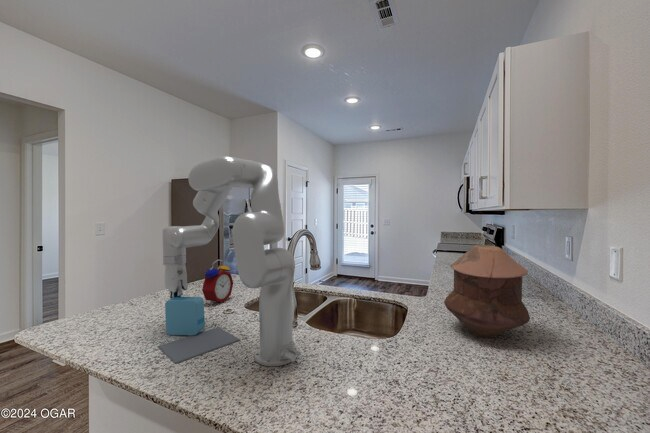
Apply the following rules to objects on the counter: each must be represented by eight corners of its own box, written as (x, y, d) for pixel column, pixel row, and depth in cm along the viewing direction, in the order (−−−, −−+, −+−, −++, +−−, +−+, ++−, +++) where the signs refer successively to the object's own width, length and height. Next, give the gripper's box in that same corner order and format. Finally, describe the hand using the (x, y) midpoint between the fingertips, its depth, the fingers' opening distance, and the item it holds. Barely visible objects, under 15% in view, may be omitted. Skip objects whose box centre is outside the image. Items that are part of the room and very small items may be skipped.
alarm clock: (213, 307, 129) (212, 262, 128) (197, 305, 131) (196, 261, 131) (234, 297, 143) (233, 257, 142) (219, 296, 145) (218, 256, 145)
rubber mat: (240, 340, 96) (240, 339, 96) (175, 364, 81) (175, 362, 81) (218, 327, 106) (218, 326, 106) (157, 347, 92) (157, 345, 92)
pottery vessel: (468, 313, 119) (468, 240, 118) (542, 335, 98) (543, 246, 97) (429, 328, 104) (429, 245, 103) (507, 358, 83) (508, 253, 82)
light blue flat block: (205, 330, 103) (204, 296, 103) (197, 335, 98) (196, 300, 98) (174, 329, 105) (173, 296, 105) (165, 334, 100) (164, 300, 100)
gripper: (193, 260, 105) (194, 311, 105) (177, 256, 115) (178, 302, 116) (171, 263, 99) (172, 316, 100) (156, 258, 110) (157, 307, 110)
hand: (175, 308), depth 108 cm, fingers closed
